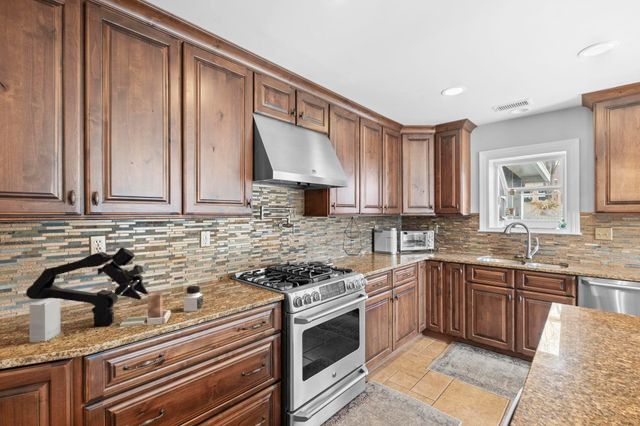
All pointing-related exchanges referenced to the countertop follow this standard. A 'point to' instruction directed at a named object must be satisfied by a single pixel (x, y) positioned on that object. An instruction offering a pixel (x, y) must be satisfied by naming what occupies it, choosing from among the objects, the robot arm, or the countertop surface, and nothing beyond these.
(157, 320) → the toolbox compartment
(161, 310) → the pink rectangular block
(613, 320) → the countertop surface
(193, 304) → the medicine bottle
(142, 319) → the lid board
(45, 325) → the skincare box
